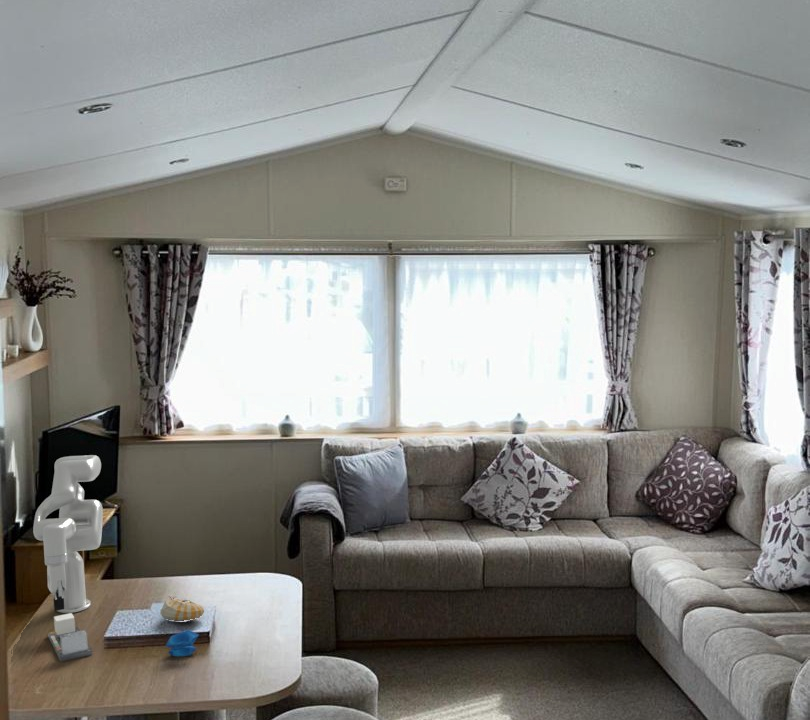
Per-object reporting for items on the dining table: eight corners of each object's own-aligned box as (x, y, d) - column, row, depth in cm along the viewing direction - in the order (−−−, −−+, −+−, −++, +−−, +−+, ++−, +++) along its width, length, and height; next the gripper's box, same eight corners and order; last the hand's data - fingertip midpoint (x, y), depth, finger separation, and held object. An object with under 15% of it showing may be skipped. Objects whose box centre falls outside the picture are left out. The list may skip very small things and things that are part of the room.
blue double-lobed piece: (162, 632, 318) (197, 621, 319) (170, 655, 320) (205, 645, 321) (160, 641, 311) (196, 630, 312) (167, 665, 312) (203, 654, 313)
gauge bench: (48, 636, 334) (46, 616, 333) (77, 630, 339) (76, 610, 338) (60, 661, 313) (59, 640, 312) (91, 654, 318) (90, 633, 317)
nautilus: (154, 613, 354) (194, 608, 360) (164, 631, 334) (207, 625, 341) (154, 592, 354) (194, 587, 360) (164, 608, 334) (207, 603, 340)
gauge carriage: (48, 631, 332) (47, 617, 331) (72, 626, 336) (71, 612, 335) (51, 636, 327) (50, 622, 327) (75, 631, 331) (74, 617, 331)
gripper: (41, 555, 340) (44, 605, 342) (48, 566, 327) (51, 617, 329) (63, 551, 344) (66, 601, 346) (71, 562, 331) (74, 613, 333)
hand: (59, 609), depth 337 cm, fingers closed
